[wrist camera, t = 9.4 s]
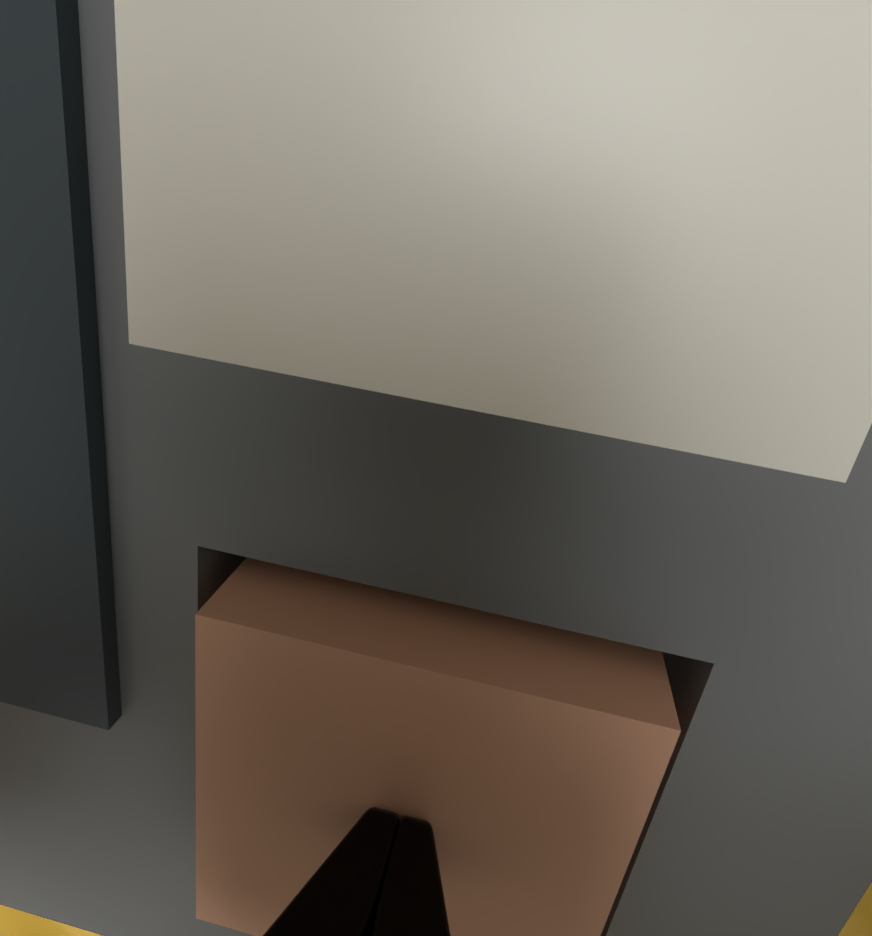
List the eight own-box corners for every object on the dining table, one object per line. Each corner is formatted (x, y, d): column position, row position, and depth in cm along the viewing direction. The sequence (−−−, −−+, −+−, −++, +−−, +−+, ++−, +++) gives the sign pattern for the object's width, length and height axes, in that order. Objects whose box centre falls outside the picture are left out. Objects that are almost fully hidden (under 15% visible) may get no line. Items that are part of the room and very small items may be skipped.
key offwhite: (256, 306, 7) (129, 343, 5) (279, -386, 5) (78, -825, 3) (751, 396, 7) (844, 481, 5) (1014, -341, 5) (1429, -844, 2)
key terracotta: (263, 787, 12) (195, 917, 10) (277, 524, 10) (194, 615, 7) (562, 868, 11) (564, 1026, 9) (651, 605, 9) (681, 731, 7)
